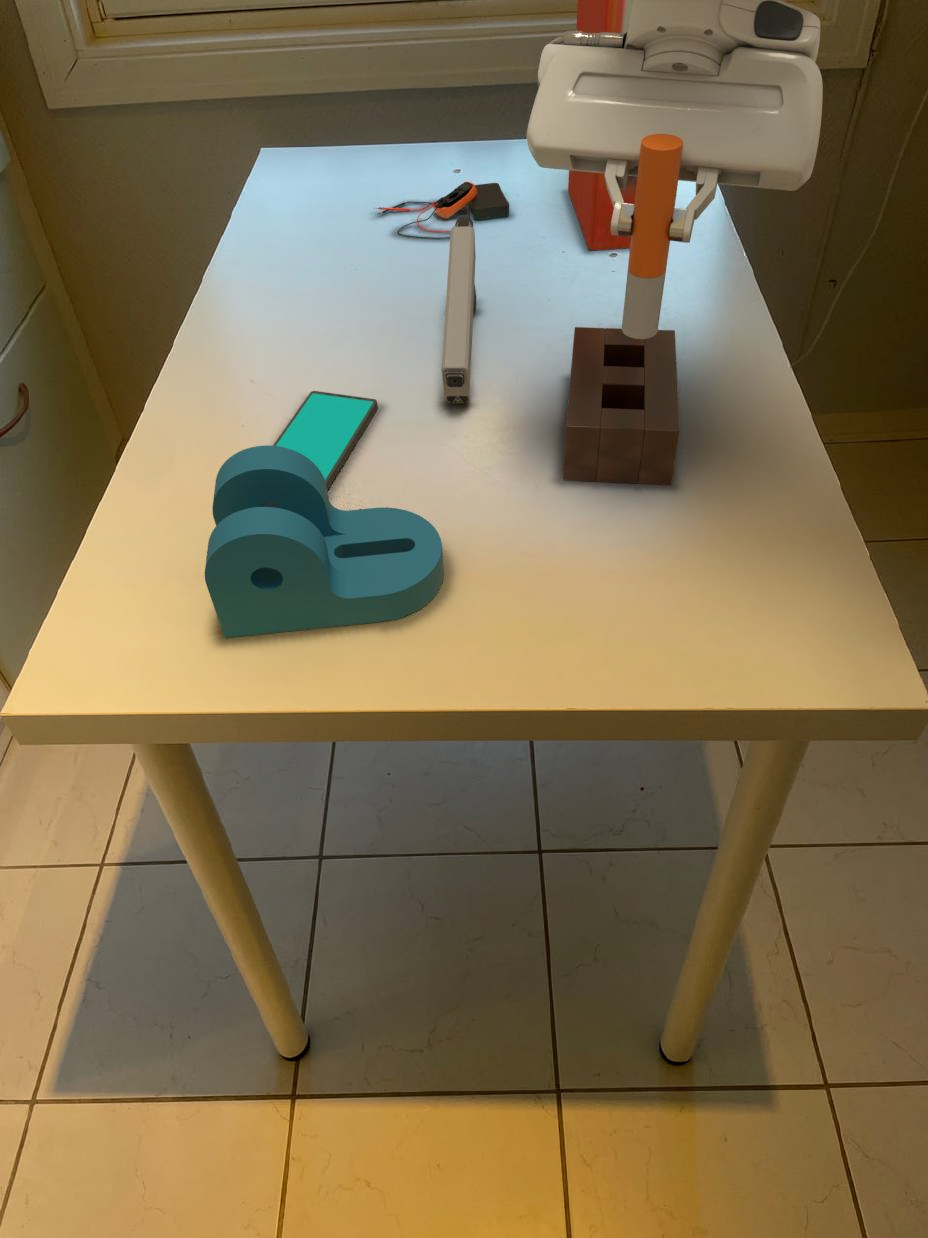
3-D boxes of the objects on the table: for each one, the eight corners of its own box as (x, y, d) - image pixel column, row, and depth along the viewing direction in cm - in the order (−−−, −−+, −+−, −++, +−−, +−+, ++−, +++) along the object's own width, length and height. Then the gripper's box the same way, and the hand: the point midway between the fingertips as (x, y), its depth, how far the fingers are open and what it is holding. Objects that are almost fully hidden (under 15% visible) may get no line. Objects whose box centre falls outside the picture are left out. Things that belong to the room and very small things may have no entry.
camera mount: (224, 638, 74) (191, 540, 66) (233, 548, 81) (203, 451, 73) (449, 614, 75) (442, 515, 67) (438, 527, 82) (430, 429, 74)
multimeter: (375, 244, 119) (372, 218, 116) (371, 204, 127) (368, 179, 124) (514, 232, 120) (514, 206, 117) (502, 193, 128) (502, 168, 125)
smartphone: (377, 399, 94) (320, 492, 84) (378, 406, 94) (322, 499, 85) (310, 390, 95) (247, 479, 86) (312, 397, 96) (249, 487, 86)
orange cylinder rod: (657, 321, 73) (682, 133, 63) (658, 340, 72) (684, 149, 61) (621, 319, 74) (641, 132, 63) (621, 338, 72) (641, 149, 61)
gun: (478, 276, 110) (475, 201, 101) (471, 441, 97) (467, 372, 89) (457, 276, 110) (452, 201, 101) (447, 441, 97) (440, 372, 89)
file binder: (626, 188, 127) (651, -103, 104) (652, 246, 116) (687, -67, 92) (567, 192, 127) (579, -99, 104) (588, 250, 116) (607, -62, 92)
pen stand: (667, 382, 96) (675, 329, 91) (671, 485, 84) (679, 431, 80) (572, 379, 97) (574, 326, 92) (563, 480, 86) (565, 426, 81)
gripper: (539, 2, 65) (501, 203, 66) (846, 18, 60) (801, 234, 61) (551, 53, 71) (517, 237, 72) (831, 72, 66) (790, 267, 67)
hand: (650, 236), depth 66 cm, fingers closed on orange cylinder rod, 3 cm apart
